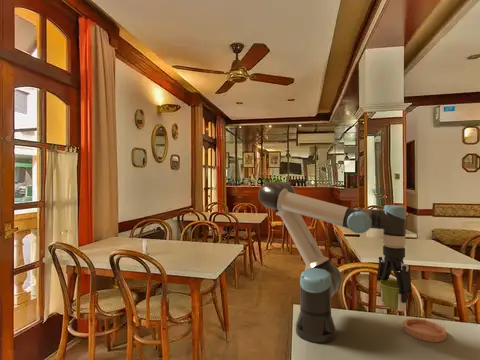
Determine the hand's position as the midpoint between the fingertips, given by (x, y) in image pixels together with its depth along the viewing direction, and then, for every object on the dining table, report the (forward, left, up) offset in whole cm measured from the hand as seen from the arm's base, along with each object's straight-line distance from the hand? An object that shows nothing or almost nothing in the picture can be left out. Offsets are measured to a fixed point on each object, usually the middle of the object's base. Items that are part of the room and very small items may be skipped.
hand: (392, 305), depth 112 cm
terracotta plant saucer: (+12, +8, -12) cm, 18 cm away
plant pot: (0, 0, -1) cm, 1 cm away
